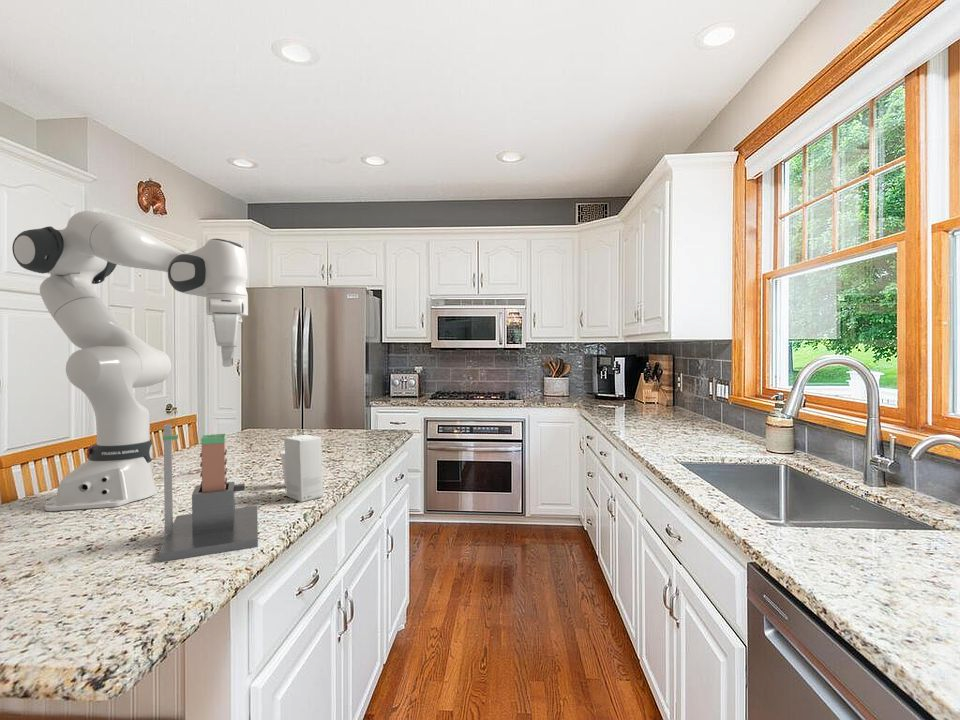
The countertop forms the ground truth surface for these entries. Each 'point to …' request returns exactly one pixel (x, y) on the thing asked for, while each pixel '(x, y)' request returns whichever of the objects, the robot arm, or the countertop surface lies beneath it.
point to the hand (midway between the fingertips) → (228, 366)
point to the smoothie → (283, 464)
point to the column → (213, 463)
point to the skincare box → (303, 467)
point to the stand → (205, 518)
